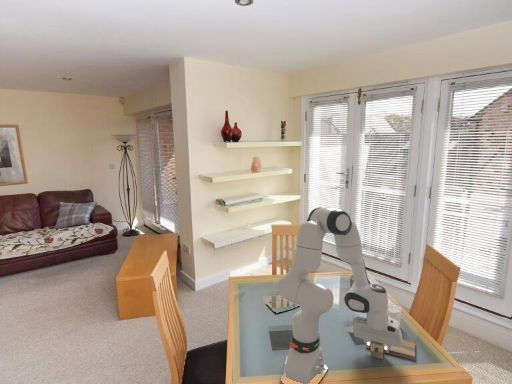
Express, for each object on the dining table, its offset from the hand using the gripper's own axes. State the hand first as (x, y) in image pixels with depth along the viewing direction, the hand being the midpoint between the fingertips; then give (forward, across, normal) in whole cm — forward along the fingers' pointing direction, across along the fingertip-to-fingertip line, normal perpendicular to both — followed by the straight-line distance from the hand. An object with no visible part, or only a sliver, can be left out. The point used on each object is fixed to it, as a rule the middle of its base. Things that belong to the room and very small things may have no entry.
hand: (377, 349), depth 129 cm
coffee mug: (+3, -16, +55) cm, 57 cm away
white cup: (+3, +5, +26) cm, 26 cm away
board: (+3, +5, +8) cm, 10 cm away
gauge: (+2, 0, +4) cm, 5 cm away
